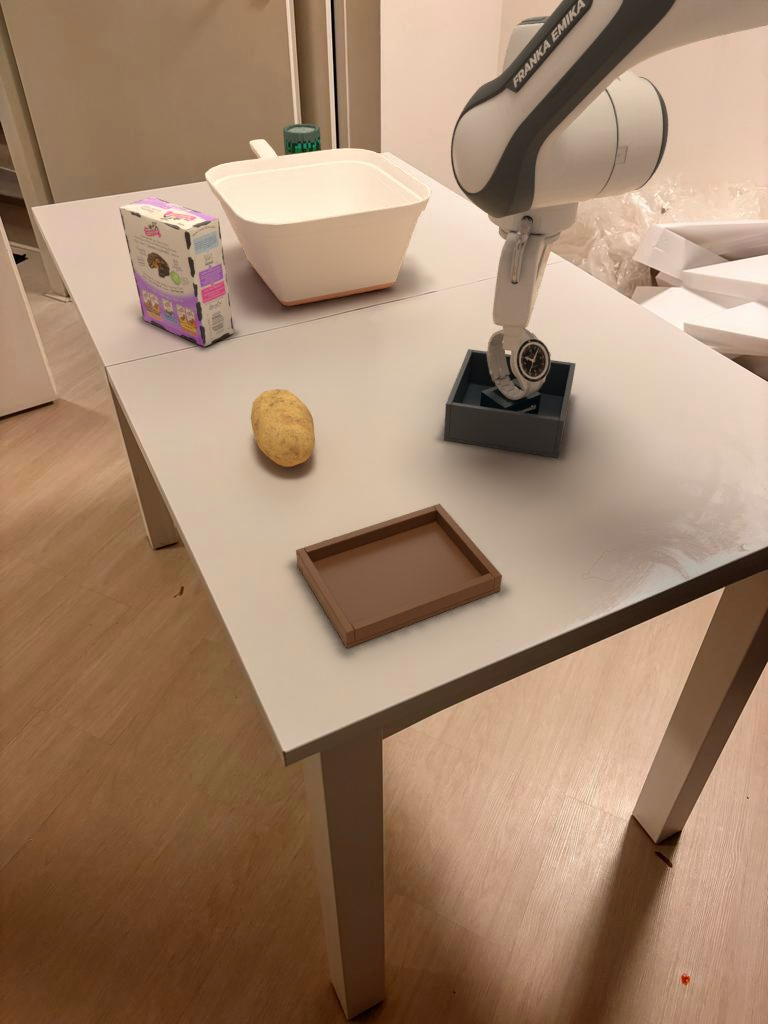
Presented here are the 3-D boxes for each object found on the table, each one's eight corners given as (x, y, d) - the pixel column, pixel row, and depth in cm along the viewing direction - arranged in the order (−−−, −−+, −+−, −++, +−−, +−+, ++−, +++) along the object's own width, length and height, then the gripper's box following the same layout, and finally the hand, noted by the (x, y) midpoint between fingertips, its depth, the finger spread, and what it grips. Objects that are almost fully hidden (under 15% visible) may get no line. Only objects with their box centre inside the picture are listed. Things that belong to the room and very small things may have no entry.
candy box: (236, 333, 113) (221, 216, 103) (204, 349, 110) (185, 229, 99) (173, 306, 120) (152, 193, 109) (141, 320, 116) (116, 205, 106)
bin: (569, 397, 100) (575, 363, 97) (558, 458, 90) (564, 421, 87) (465, 383, 103) (468, 348, 100) (443, 439, 93) (445, 403, 90)
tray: (438, 518, 82) (439, 503, 81) (500, 590, 74) (502, 575, 73) (296, 565, 77) (295, 549, 76) (346, 648, 69) (346, 633, 68)
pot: (260, 334, 113) (249, 229, 103) (187, 228, 144) (173, 139, 134) (441, 298, 122) (446, 198, 112) (335, 205, 153) (332, 121, 143)
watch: (513, 438, 93) (524, 353, 86) (470, 407, 98) (477, 324, 91) (549, 423, 95) (563, 339, 88) (505, 393, 100) (515, 312, 93)
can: (298, 223, 146) (292, 135, 136) (285, 213, 150) (278, 126, 140) (328, 217, 148) (324, 130, 138) (314, 207, 152) (310, 122, 143)
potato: (304, 421, 96) (300, 375, 92) (327, 474, 88) (324, 427, 84) (248, 430, 95) (242, 384, 90) (266, 486, 86) (261, 438, 82)
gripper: (553, 243, 72) (534, 378, 81) (574, 173, 87) (556, 293, 96) (484, 236, 73) (472, 369, 82) (516, 167, 88) (503, 286, 97)
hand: (517, 327), depth 89 cm, fingers open, 8 cm apart
